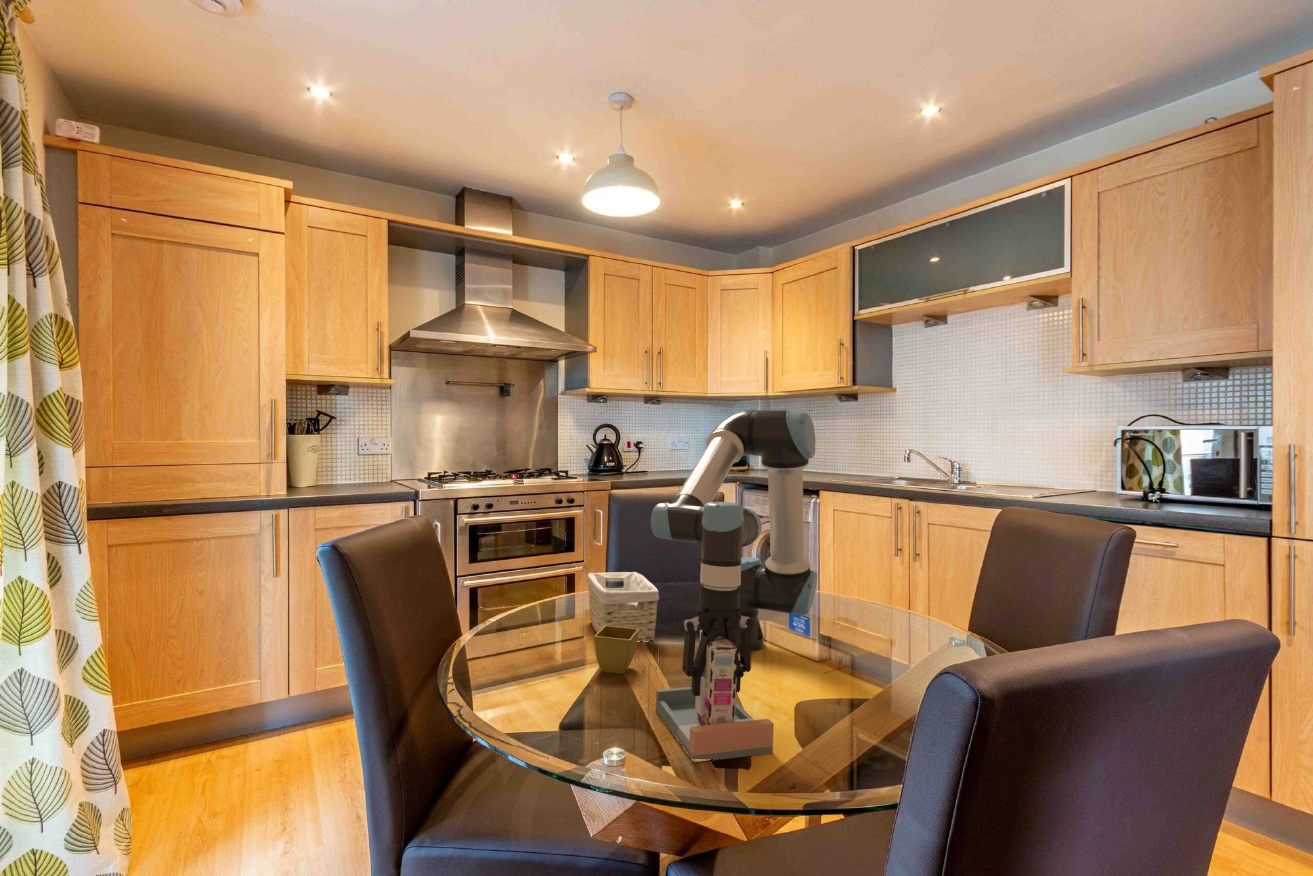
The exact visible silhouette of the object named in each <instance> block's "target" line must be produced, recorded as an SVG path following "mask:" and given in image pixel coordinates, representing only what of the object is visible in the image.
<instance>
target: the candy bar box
mask: <svg viewBox="0 0 1313 876" xmlns="http://www.w3.org/2000/svg"><path fill="white" fill-rule="evenodd" d="M702 630H703V629H700V630H699V641H700V640H701V633H702ZM736 664H737V648H736V647H735V645H734V644H733V643H732V641H729V640H728V639H727V638H725V637H721V636H720V637H717V638H715V639H714V642H707V651H706V665H705V668H704V671H703V675H702V677H703V678H705V679H706V684H705V709H704V715H703V716H700V715H699V714H698V712H697V715H698V717H699V719H700V721H701V724H702V726H703V725H712V724H722V723H731V722H734V709H735V708H734V707H735V686H736Z"/></svg>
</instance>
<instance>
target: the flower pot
mask: <svg viewBox="0 0 1313 876" xmlns="http://www.w3.org/2000/svg"><path fill="white" fill-rule="evenodd" d="M638 632H639V629H635V628H626V627H616V626H604V627H603V628H602V629H601V630H600V631H599V632H598V633H597V632H596V634H595V635H594V637H593V638H594V649H595V657H596V661H597V665H598V666H599V668H600V670H601V671H602V672H603V673H610V674H616V675H617V674H618V675H619V674H620V675H624V674H625V673H626V671H627V670H628V668H629V666H630V665H631V663H632V662H633V658H634V657H635V654H636V650H637V645H638V643H637V639H638Z"/></svg>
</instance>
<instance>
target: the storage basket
mask: <svg viewBox="0 0 1313 876" xmlns="http://www.w3.org/2000/svg"><path fill="white" fill-rule="evenodd" d="M607 582H608V583H610V582H613V583H615V582H616V583H618V582H623V587H607V586H606V585H607V584H606V583H607ZM587 587H588V589H587V590H588V597H589V598H588V601H589V608H588V609H589V621H590V623H591V625H592V628H593V629H594V631H596V634H597V633H598V632H599V631H600V630H601V629H602V628H603V627H604V626H616V627H626V628H635V629H639V632H638V639H637V641H649V640H653V641H655V633H656V631H655V630H656V625H657V624H656V622H657V613H658V612H657V611H658V610H657V609H658V602H659V600H660V595H659V589H658V588H657V587H656V586H655V585H654V584H653V583H652V582H650V581H649V579H647V578H646V577H645V576H644V575H642V574H641V573H638V572H637V571H632V572H630V571H628V572H627V571H621V572H619V571H618V572H617V571H615V572H613V571H612V572H611V571H610V572H589V573H588V574H587ZM648 639H649V640H648Z"/></svg>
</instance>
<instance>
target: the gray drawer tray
mask: <svg viewBox="0 0 1313 876" xmlns="http://www.w3.org/2000/svg"><path fill="white" fill-rule="evenodd" d="M691 688H692V686H687V687H686V686H685V687H677V688H665V689H664V688H663V689H656V690H655V691H656V693H655V694H656V695H655V696H656V697H655V712H656V713H657V715H658V714H659V715H660V716H659V715H658V716H659V718H660V717H661V718H662V719H663V720H662V719H661V718H660V719H661V720H662V721H664V722H665V723H666V724H665V723H664V722H663V723H664V724H665V726H666V725H667V726H668V727H669V729H670V730H671V731H672V732H673V734H674V735H675V736H676V737H677V739H678V740H679V742H680V743H681V744H682V746H683V747H684V748H685V750H686V751H687V752H688V754H689V755H690V756H691V757H692V759H711V760H712V759H713V760H712V761H719V759H720V760H725V759H726V760H727V759H737V758H744V757H751V756H760V755H770V754H773V753H774V752H773V750H774V748H773V747H774V744H773V743H774V730H775V729H774V725H775V724H774V722H773V721H772V720H770V718H761V719H754V718H753V717H752V715H750V714H749V713H748V712H747V711H746V710H745V709H744V708H743V707H742V706H741V705H740V704H739V703H738V702H736V707H735V712H734V722H731V723H722V724H712V725H703V726H702V724H701V721H700V719H699V717H698V715H697V711H696V710H695V700H696V696H694V695H693V693H692V691H691ZM667 726H666V727H667ZM668 727H667V728H668ZM669 729H668V730H669ZM670 730H669V731H670ZM671 731H670V732H671ZM673 734H672V735H673Z"/></svg>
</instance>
